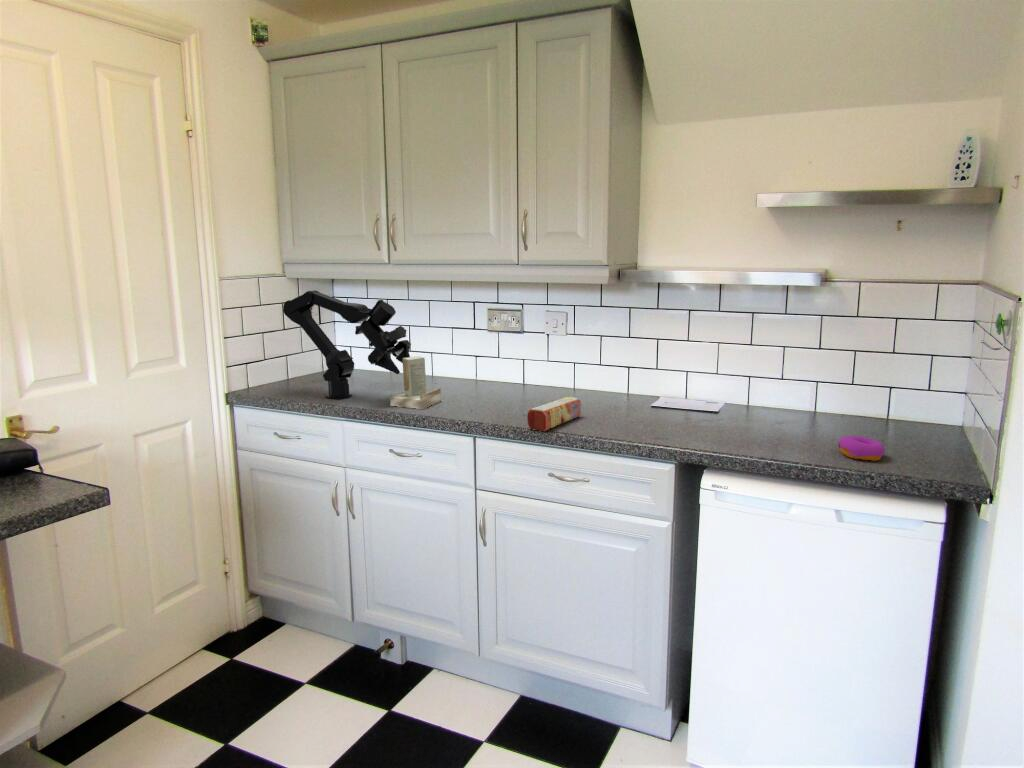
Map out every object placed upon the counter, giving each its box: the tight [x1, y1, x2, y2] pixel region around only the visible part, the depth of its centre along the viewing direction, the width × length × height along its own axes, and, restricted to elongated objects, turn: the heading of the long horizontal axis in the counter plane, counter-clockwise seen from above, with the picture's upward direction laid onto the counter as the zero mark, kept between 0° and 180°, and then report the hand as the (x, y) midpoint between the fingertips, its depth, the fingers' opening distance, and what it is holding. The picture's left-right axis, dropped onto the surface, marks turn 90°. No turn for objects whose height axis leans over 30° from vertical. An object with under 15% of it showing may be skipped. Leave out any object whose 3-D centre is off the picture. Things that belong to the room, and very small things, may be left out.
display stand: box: [389, 387, 442, 410], centre depth 228 cm, size 12×12×4 cm
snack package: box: [526, 396, 582, 432], centre depth 203 cm, size 21×7×7 cm, turn 146°
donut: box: [838, 435, 885, 462], centre depth 170 cm, size 10×10×5 cm
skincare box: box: [402, 355, 428, 396], centre depth 227 cm, size 6×4×12 cm
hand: (406, 370), depth 228 cm, fingers open, 9 cm apart
